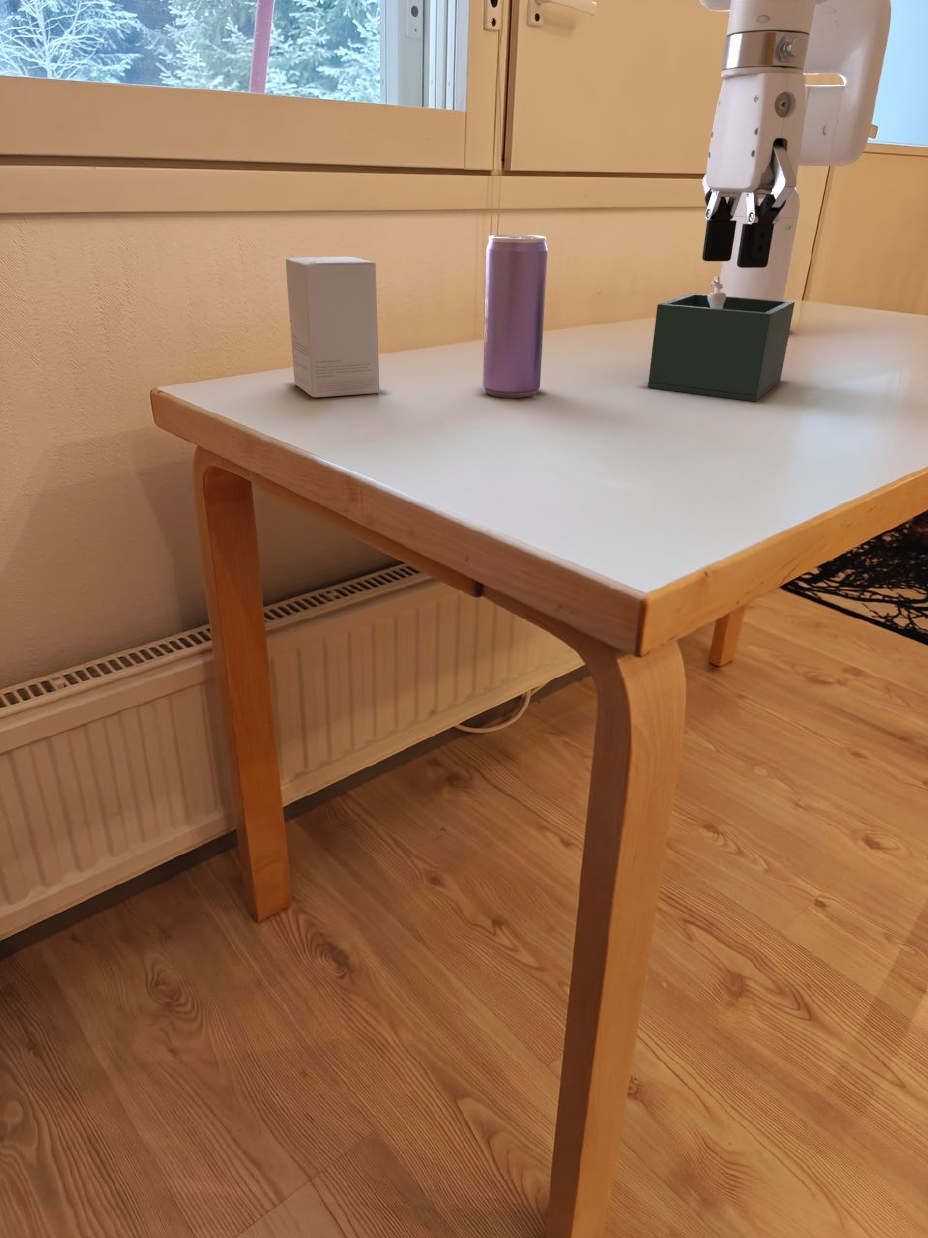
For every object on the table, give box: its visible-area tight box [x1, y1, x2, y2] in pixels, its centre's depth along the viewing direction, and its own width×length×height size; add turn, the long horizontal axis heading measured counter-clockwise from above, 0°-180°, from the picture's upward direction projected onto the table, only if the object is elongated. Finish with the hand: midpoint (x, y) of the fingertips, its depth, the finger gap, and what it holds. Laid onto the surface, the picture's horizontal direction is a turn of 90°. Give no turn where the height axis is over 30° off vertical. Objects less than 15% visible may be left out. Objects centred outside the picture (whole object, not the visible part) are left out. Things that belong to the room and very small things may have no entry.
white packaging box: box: [285, 256, 380, 398], centre depth 88 cm, size 7×7×13 cm
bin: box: [647, 293, 796, 403], centre depth 94 cm, size 12×12×9 cm
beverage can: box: [482, 234, 549, 399], centre depth 87 cm, size 6×6×15 cm
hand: (733, 262), depth 90 cm, fingers open, 6 cm apart
